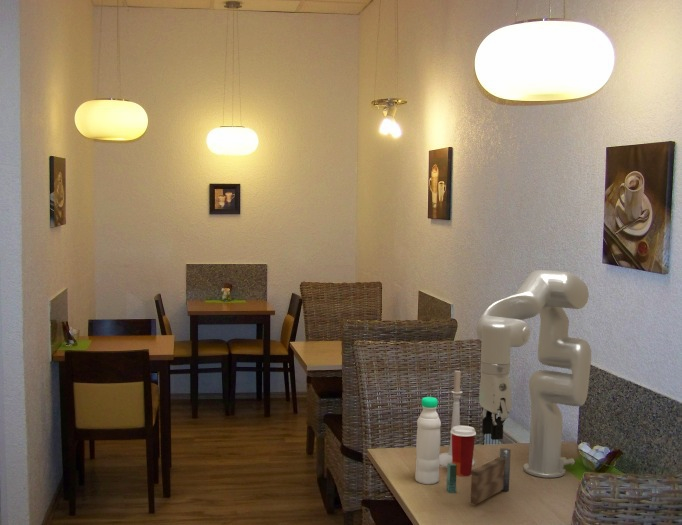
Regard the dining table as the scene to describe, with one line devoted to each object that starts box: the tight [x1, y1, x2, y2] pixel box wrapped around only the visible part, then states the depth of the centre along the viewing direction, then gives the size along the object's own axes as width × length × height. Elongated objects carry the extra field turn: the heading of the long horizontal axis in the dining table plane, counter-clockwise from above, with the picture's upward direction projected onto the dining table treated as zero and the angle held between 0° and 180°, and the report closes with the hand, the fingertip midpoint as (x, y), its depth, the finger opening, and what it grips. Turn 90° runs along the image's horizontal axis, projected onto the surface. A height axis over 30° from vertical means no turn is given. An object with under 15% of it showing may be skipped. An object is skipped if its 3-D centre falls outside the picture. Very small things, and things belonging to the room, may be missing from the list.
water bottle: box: [414, 396, 442, 485], centre depth 242 cm, size 7×7×25 cm
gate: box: [470, 456, 505, 505], centre depth 228 cm, size 16×2×9 cm, turn 141°
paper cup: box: [449, 425, 477, 477], centre depth 250 cm, size 8×8×14 cm
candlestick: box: [439, 370, 476, 469], centre depth 259 cm, size 13×13×30 cm
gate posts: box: [446, 447, 512, 494], centre depth 235 cm, size 18×3×12 cm, turn 99°
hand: (492, 435), depth 217 cm, fingers open, 4 cm apart
